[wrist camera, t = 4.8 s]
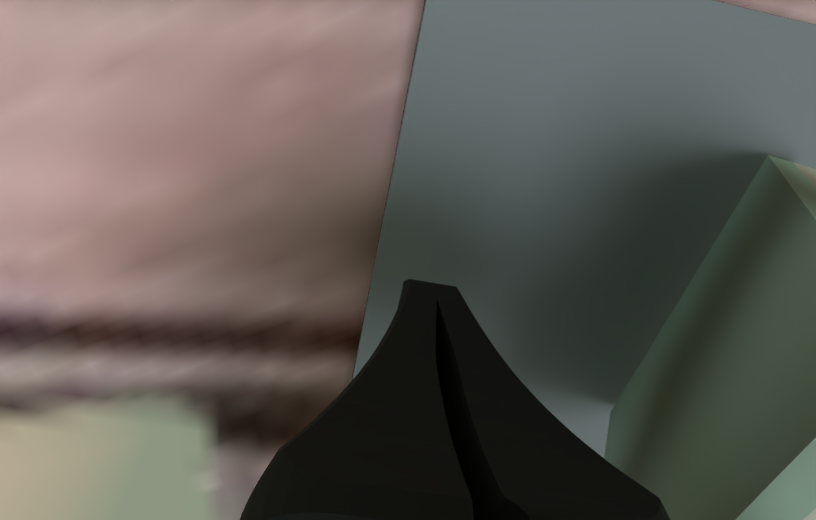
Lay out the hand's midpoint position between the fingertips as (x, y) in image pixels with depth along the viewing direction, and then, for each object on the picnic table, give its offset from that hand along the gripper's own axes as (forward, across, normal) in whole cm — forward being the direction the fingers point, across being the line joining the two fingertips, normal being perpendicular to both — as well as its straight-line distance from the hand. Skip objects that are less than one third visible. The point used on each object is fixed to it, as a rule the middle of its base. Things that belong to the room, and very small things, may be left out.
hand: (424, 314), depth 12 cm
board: (+4, -10, 0) cm, 10 cm away
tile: (-2, -6, 0) cm, 6 cm away
